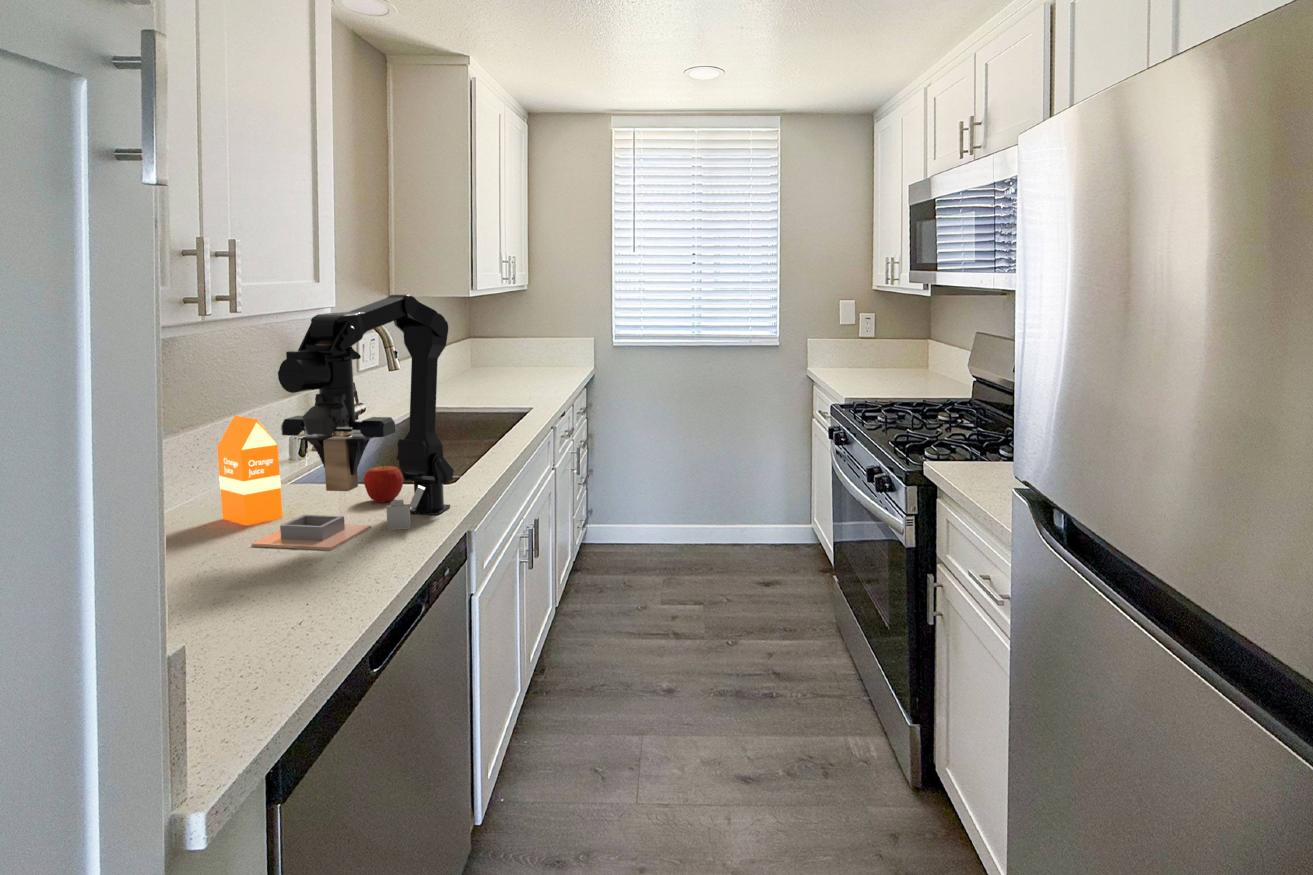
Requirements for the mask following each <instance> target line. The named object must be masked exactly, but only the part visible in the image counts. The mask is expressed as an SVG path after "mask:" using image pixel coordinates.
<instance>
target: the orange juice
mask: <svg viewBox="0 0 1313 875" xmlns="http://www.w3.org/2000/svg"><path fill="white" fill-rule="evenodd" d="M232 417H233V418H232V419H231V421H230V422H229V425H228V426H227V429H226V430H225V432H224V433H223V436H221V439H220V441H219V443H218V445H216V448H217V450H216V452H217V460H218V461H217V462H218V475H219V476H218V478H219V489H220V499H221V502H220V503H221V512H222V520H226V521H230V522H232V523H238V524H239V525H244V526H250V525H255V524H259V523H265V522H268V521H273V520H277V519H278V520H279V519H282V518H283V504H282V490H281V489H282V487H281V486H282V484H281V474H280V473H281V472H280V461H279V460H280V459H279V447H278V446H279V444H278V443H277V442H276V441H275V440H274V438H273V437H272V436H271V435H270V434H269V432H268V431H267V430H266V428H265V426H264V425H263V424H262V423H261V422H260V420H258V419H257V418H253V417H245V416H239V415H233V416H232Z"/></svg>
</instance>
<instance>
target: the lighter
mask: <svg viewBox="0 0 1313 875" xmlns="http://www.w3.org/2000/svg"><path fill="white" fill-rule="evenodd" d="M424 490H425V487H423V486H421V485H418V487H417V490H416V492H415V494H414V495H413V496H412V498H411V501H410V503H407V504H406V503H405V502H404V499H394V500H392V501H390V503H389V504H387V505H386V507H385V508H386V526H387V527H386V529H387V530H400V529H401V530H403V529H404V530H405V529H411V526H412V524H411V523H412V522H411V513H410V509H411V508H415V509H416V507H417V505H418V503H419V500H420V498H421V496H422V494H423V492H424Z"/></svg>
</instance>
